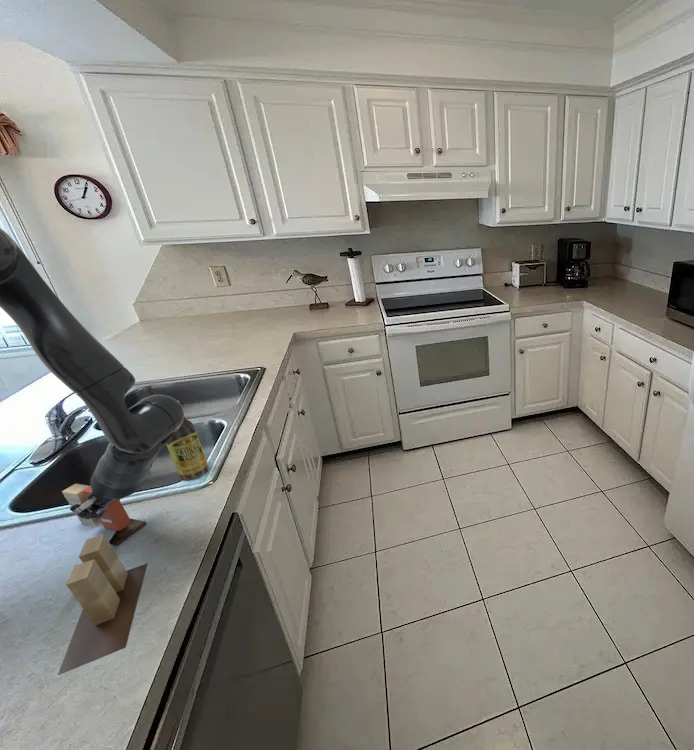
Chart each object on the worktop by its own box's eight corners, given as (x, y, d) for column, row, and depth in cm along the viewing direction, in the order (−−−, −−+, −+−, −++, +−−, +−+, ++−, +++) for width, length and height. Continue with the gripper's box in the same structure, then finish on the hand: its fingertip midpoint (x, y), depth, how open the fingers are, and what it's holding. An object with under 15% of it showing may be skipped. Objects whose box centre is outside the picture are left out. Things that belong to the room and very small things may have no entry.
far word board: (117, 545, 83) (93, 505, 79) (73, 536, 86) (47, 496, 81) (146, 523, 88) (125, 484, 84) (103, 515, 91) (81, 477, 86)
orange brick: (119, 531, 84) (97, 493, 80) (104, 528, 85) (81, 491, 81) (132, 521, 86) (111, 484, 82) (117, 519, 87) (95, 482, 83)
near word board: (59, 678, 61) (21, 633, 56) (95, 584, 75) (66, 542, 71) (127, 650, 64) (96, 605, 60) (149, 566, 79) (125, 524, 74)
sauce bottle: (187, 484, 100) (156, 414, 91) (175, 476, 103) (143, 407, 94) (215, 469, 105) (188, 402, 96) (203, 462, 108) (175, 395, 99)
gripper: (142, 435, 82) (121, 476, 90) (62, 481, 70) (45, 523, 78) (174, 460, 83) (150, 497, 91) (100, 509, 71) (80, 548, 79)
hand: (102, 509), depth 84 cm, fingers closed on orange brick, 2 cm apart
